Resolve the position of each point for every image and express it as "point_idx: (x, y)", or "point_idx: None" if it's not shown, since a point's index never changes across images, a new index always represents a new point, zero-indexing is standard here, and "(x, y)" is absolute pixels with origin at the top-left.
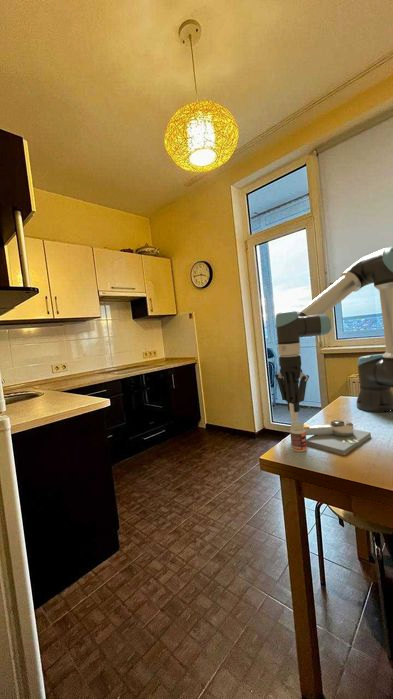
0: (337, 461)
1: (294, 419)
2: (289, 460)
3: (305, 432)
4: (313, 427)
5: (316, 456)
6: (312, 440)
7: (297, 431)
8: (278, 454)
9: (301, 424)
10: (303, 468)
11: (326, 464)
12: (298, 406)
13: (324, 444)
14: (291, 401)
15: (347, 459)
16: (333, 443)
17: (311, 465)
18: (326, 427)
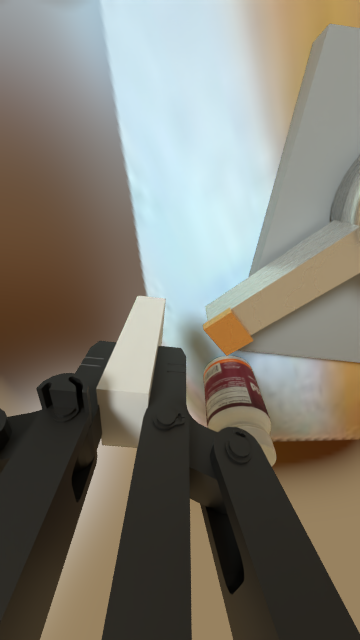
0: (349, 389)
1: (161, 343)
2: None
3: (270, 420)
4: (269, 316)
5: (289, 389)
6: (262, 340)
7: None
8: None
9: (268, 460)
10: (274, 439)
11: (322, 410)
12: (183, 391)
13: (313, 351)
14: (97, 429)
15: None
16: (346, 330)
17: (287, 425)
18: (338, 283)
